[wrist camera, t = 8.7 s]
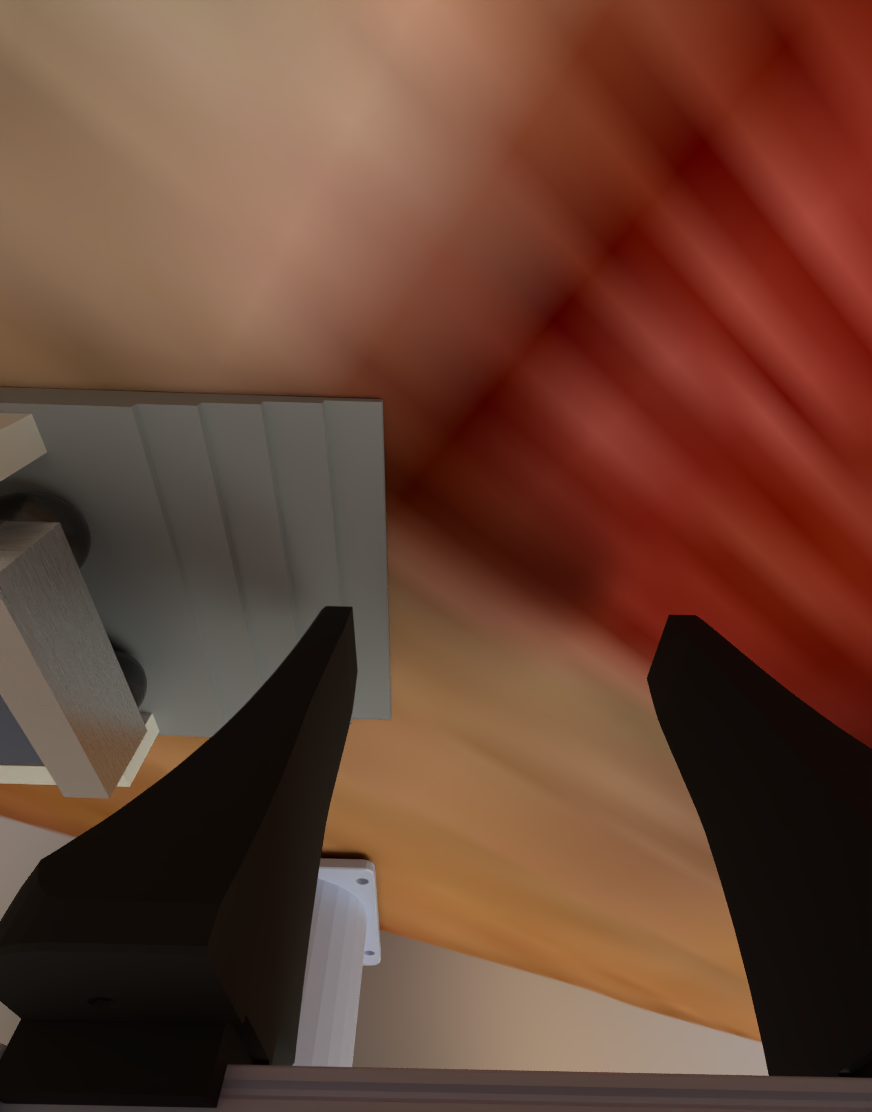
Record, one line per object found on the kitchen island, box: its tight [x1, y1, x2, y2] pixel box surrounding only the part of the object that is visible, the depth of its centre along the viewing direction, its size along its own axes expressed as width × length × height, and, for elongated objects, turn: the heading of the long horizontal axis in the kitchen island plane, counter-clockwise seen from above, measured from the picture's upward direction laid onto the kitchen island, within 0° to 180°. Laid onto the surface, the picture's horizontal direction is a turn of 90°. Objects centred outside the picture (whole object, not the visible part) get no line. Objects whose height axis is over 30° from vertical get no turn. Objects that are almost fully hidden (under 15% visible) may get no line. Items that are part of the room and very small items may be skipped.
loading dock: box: [0, 387, 391, 787], centre depth 12 cm, size 10×16×4 cm, turn 88°
